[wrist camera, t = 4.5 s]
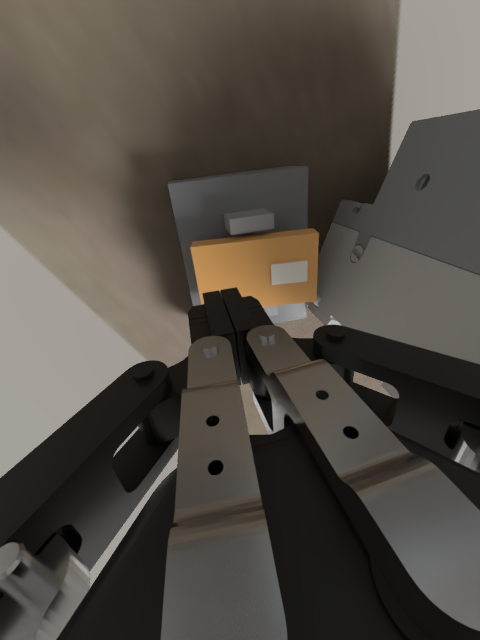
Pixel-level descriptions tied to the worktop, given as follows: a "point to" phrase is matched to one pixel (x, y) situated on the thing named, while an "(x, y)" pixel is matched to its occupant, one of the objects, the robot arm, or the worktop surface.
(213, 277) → the block
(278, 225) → the switch box
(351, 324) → the electrical contactor
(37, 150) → the worktop surface
